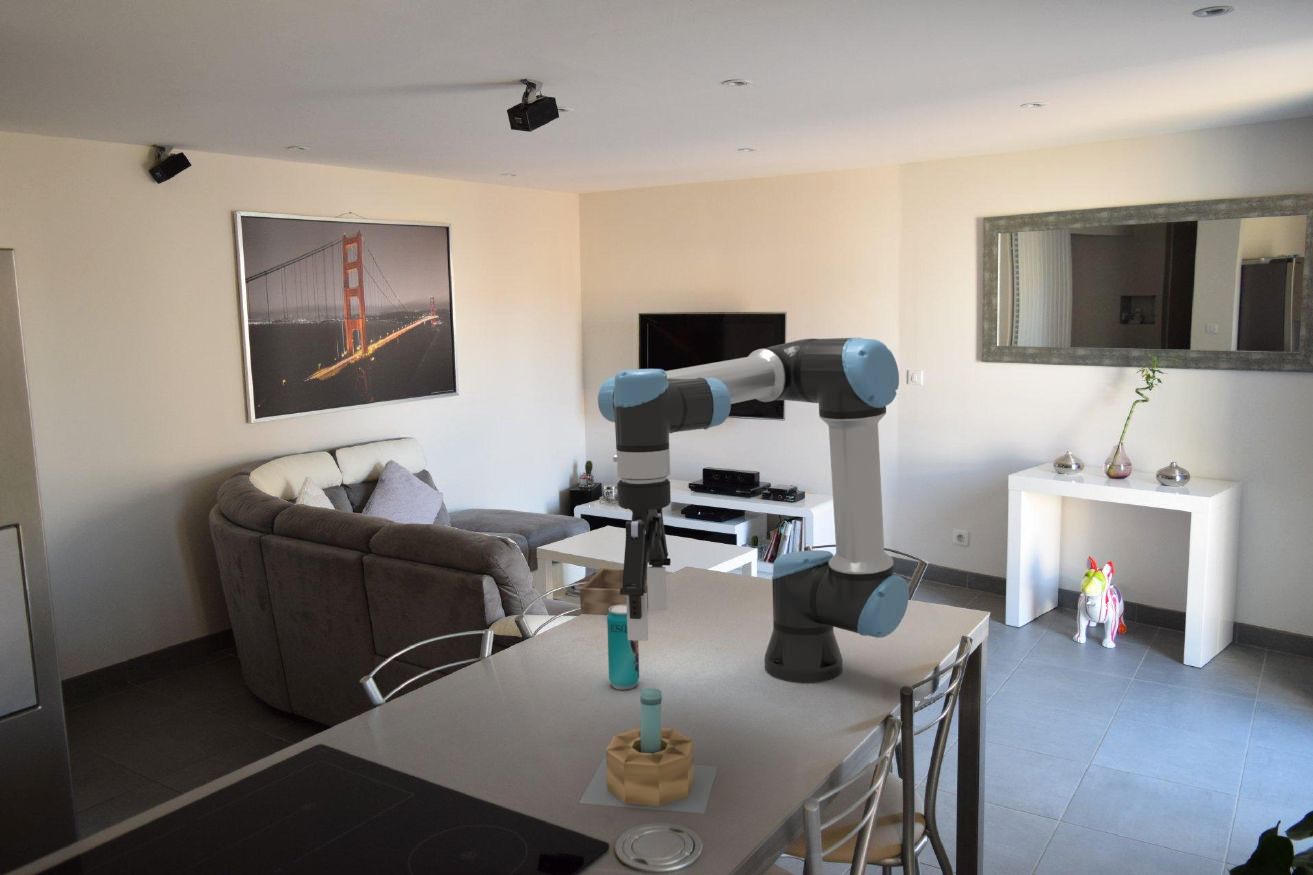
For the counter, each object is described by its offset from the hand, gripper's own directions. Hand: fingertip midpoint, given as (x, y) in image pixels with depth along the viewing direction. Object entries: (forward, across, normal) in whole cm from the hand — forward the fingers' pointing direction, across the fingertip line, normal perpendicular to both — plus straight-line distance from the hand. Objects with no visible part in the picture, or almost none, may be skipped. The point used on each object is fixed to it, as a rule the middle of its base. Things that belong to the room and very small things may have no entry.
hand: (648, 623), depth 135 cm
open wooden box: (+25, -89, -26) cm, 96 cm away
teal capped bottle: (+24, 0, 0) cm, 24 cm away
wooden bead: (+24, 0, 0) cm, 24 cm away
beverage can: (+25, -37, -13) cm, 47 cm away
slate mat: (+25, 0, 0) cm, 25 cm away
